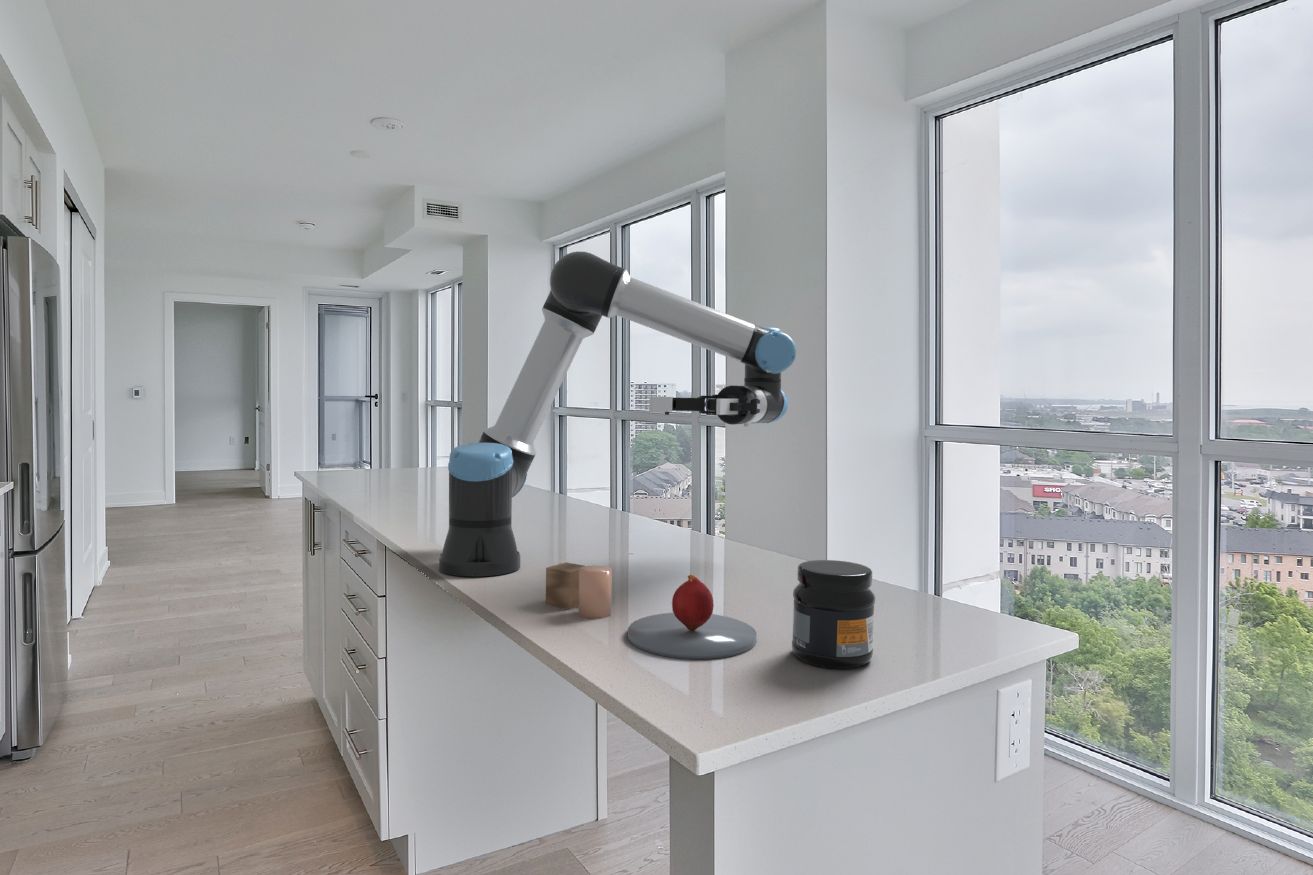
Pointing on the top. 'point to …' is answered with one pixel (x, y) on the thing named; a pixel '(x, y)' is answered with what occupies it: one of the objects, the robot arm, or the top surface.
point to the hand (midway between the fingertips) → (683, 405)
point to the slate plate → (692, 637)
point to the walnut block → (563, 585)
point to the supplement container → (833, 614)
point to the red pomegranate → (692, 603)
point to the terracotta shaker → (594, 592)
